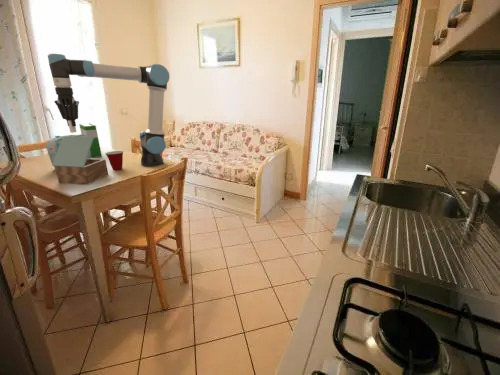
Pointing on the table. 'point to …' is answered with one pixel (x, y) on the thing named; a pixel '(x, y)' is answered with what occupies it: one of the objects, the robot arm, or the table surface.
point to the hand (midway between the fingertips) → (73, 132)
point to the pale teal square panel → (73, 151)
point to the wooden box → (82, 172)
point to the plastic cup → (115, 159)
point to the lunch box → (54, 144)
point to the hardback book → (92, 132)
